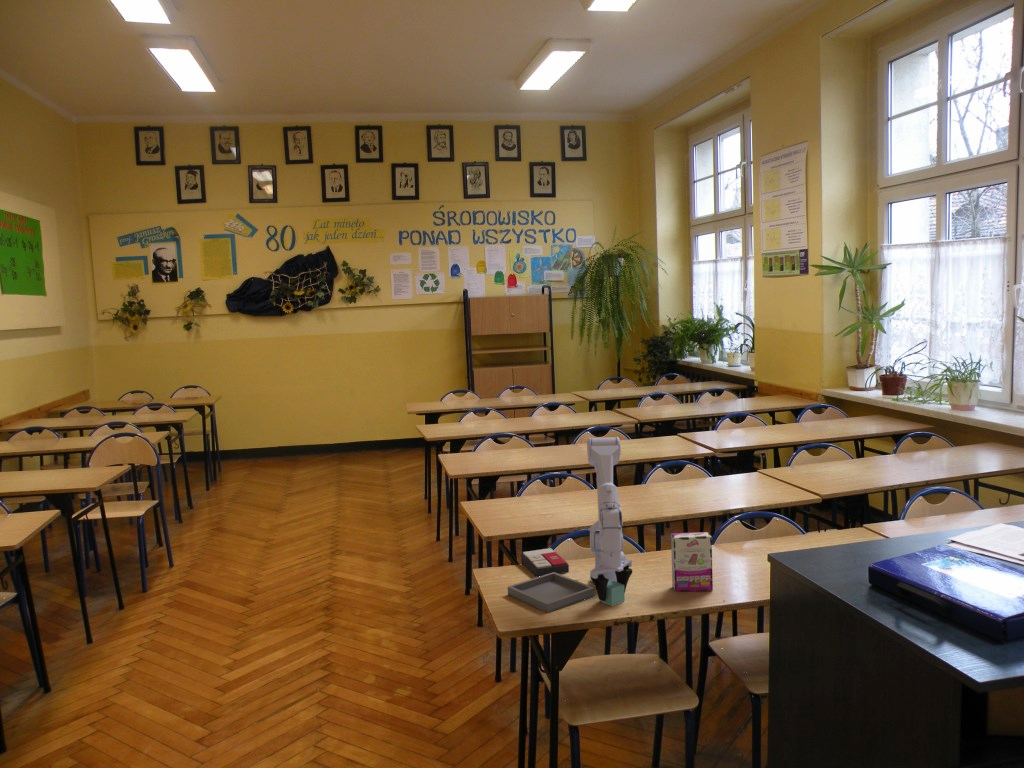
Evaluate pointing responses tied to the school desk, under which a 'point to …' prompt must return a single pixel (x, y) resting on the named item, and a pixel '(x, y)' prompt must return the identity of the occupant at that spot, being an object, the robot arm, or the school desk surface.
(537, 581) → the charcoal tray
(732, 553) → the school desk surface
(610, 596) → the teal cube
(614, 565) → the robot arm
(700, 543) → the candy bar box
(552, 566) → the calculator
